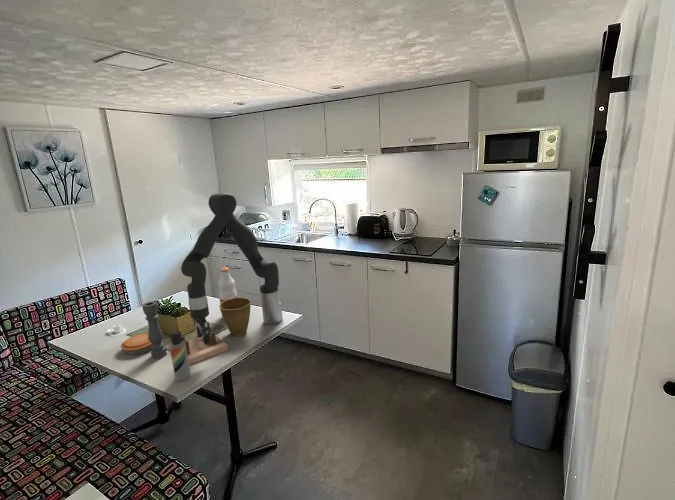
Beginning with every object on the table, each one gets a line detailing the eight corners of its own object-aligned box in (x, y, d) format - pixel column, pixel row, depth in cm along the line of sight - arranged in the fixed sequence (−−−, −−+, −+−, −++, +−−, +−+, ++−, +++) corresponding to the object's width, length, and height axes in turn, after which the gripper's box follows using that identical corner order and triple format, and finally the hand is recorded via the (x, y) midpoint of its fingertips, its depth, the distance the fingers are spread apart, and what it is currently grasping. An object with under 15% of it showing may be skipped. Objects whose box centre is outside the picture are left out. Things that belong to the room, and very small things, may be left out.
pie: (163, 347, 170) (161, 337, 169) (127, 360, 160) (125, 350, 159) (152, 337, 181) (150, 328, 180) (118, 349, 171) (116, 339, 170)
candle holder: (151, 360, 159) (141, 308, 153) (151, 354, 164) (141, 303, 158) (167, 356, 161) (157, 304, 155) (166, 350, 167) (157, 300, 161)
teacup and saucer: (104, 335, 187) (102, 328, 186) (118, 328, 194) (116, 321, 193) (116, 337, 184) (114, 330, 183) (129, 330, 191) (128, 323, 190)
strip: (224, 347, 167) (223, 342, 166) (227, 350, 165) (226, 344, 164) (185, 363, 156) (183, 357, 155) (187, 366, 153) (186, 360, 152)
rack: (213, 334, 181) (211, 321, 179) (224, 344, 170) (222, 330, 168) (171, 348, 169) (169, 334, 167) (180, 359, 158) (177, 345, 156)
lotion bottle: (178, 374, 147) (170, 329, 142) (192, 372, 148) (185, 328, 143) (173, 382, 142) (164, 336, 137) (188, 380, 142) (180, 334, 137)
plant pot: (221, 330, 184) (216, 301, 180) (249, 323, 190) (246, 295, 186) (226, 343, 171) (222, 311, 167) (257, 334, 177) (253, 304, 173)
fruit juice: (219, 317, 200) (212, 269, 194) (234, 311, 207) (228, 265, 200) (227, 321, 194) (220, 272, 187) (242, 316, 200) (236, 268, 193)
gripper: (213, 307, 151) (218, 343, 155) (201, 299, 162) (206, 332, 166) (195, 313, 146) (200, 349, 150) (184, 303, 157) (189, 337, 161)
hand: (203, 340), depth 158 cm, fingers open, 8 cm apart
